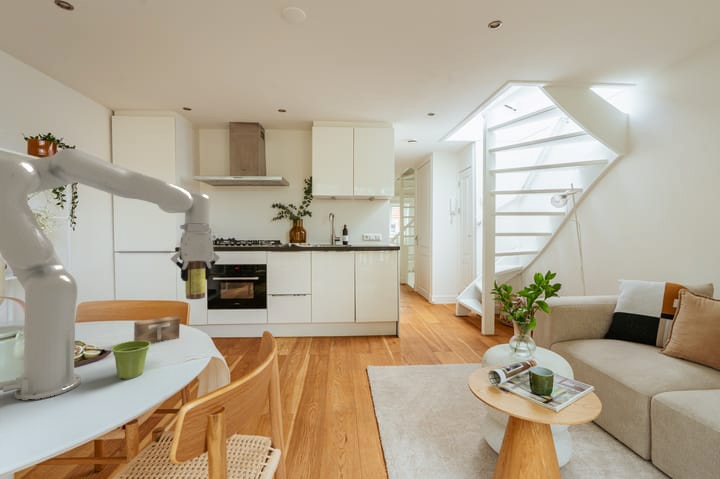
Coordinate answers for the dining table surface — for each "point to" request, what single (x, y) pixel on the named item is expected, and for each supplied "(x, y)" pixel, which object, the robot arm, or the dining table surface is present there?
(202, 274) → the sauce bottle
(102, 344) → the dining table surface
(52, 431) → the dining table surface
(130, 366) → the plant pot
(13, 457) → the dining table surface
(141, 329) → the letter block
